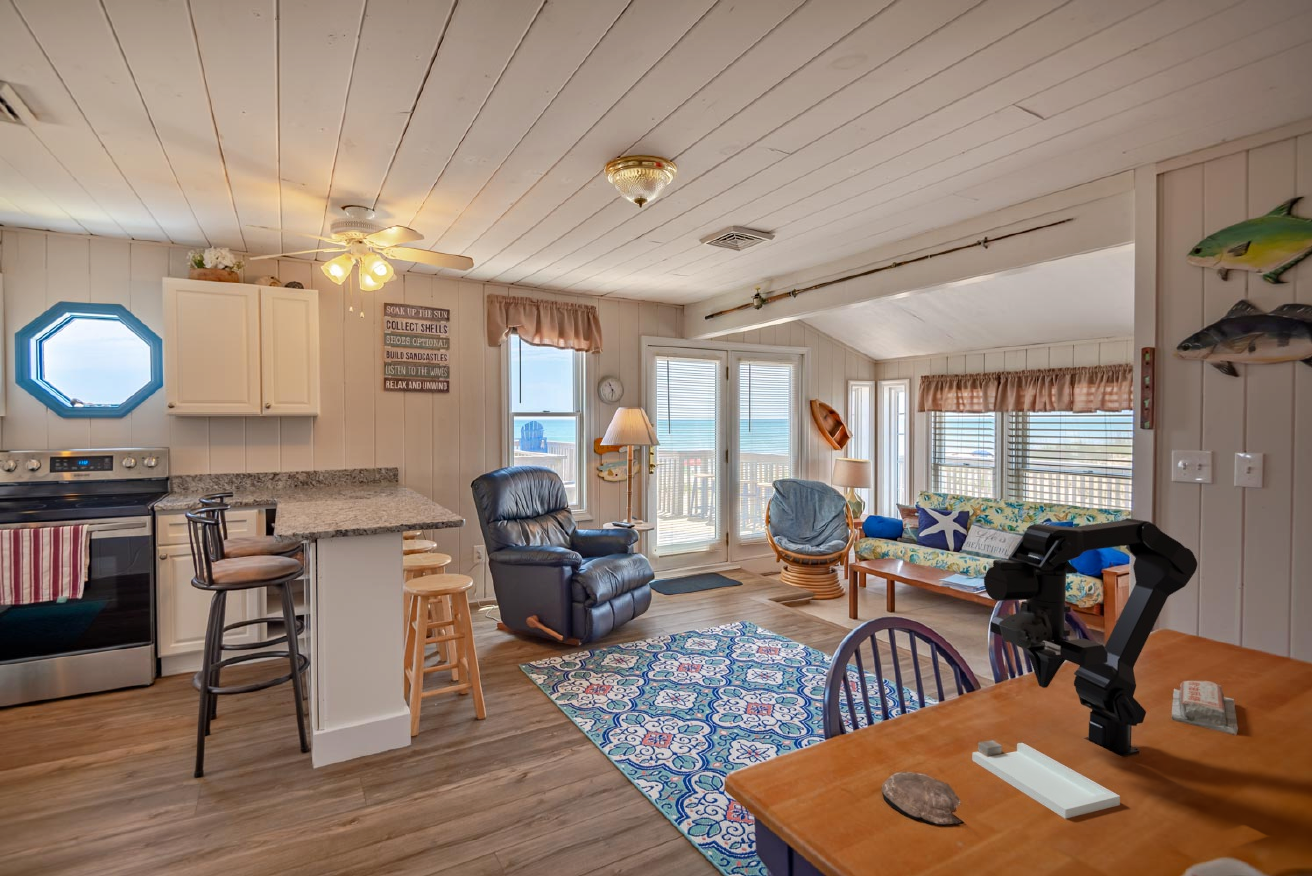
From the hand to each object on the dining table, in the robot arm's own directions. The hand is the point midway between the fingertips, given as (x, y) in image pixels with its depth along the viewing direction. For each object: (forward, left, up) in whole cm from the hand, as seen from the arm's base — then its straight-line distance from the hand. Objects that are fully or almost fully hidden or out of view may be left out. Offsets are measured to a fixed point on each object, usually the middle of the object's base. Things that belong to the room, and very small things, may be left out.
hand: (1043, 686), depth 115 cm
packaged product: (-47, -3, -13) cm, 49 cm away
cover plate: (+10, -5, -13) cm, 17 cm away
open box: (+10, +8, -12) cm, 18 cm away
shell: (+30, +5, -13) cm, 33 cm away
